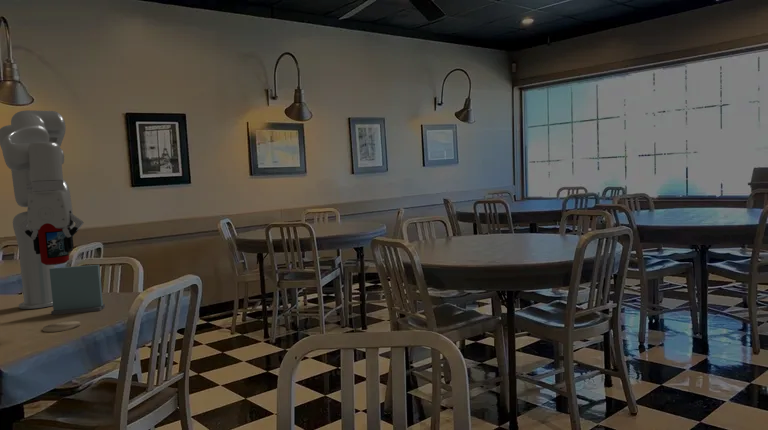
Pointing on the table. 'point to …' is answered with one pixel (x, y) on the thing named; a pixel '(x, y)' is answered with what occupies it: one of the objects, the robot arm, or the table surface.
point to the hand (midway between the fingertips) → (54, 252)
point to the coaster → (61, 326)
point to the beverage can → (52, 245)
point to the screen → (76, 289)
